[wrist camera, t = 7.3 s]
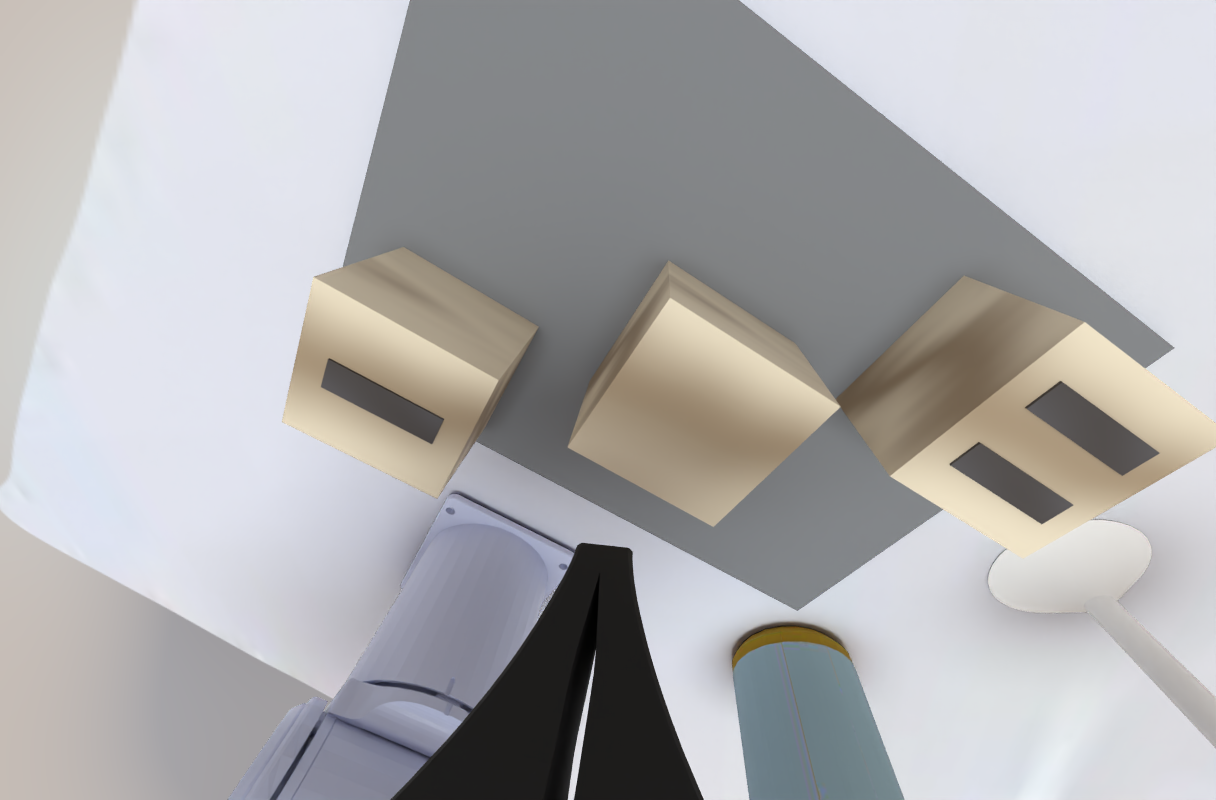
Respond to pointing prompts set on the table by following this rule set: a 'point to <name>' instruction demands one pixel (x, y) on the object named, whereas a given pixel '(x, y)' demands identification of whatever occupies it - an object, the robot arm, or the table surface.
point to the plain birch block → (698, 399)
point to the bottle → (807, 721)
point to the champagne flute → (1102, 602)
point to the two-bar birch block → (1019, 417)
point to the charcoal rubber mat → (688, 237)
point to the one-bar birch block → (402, 366)
